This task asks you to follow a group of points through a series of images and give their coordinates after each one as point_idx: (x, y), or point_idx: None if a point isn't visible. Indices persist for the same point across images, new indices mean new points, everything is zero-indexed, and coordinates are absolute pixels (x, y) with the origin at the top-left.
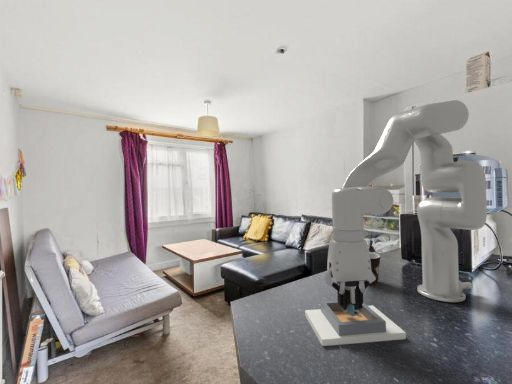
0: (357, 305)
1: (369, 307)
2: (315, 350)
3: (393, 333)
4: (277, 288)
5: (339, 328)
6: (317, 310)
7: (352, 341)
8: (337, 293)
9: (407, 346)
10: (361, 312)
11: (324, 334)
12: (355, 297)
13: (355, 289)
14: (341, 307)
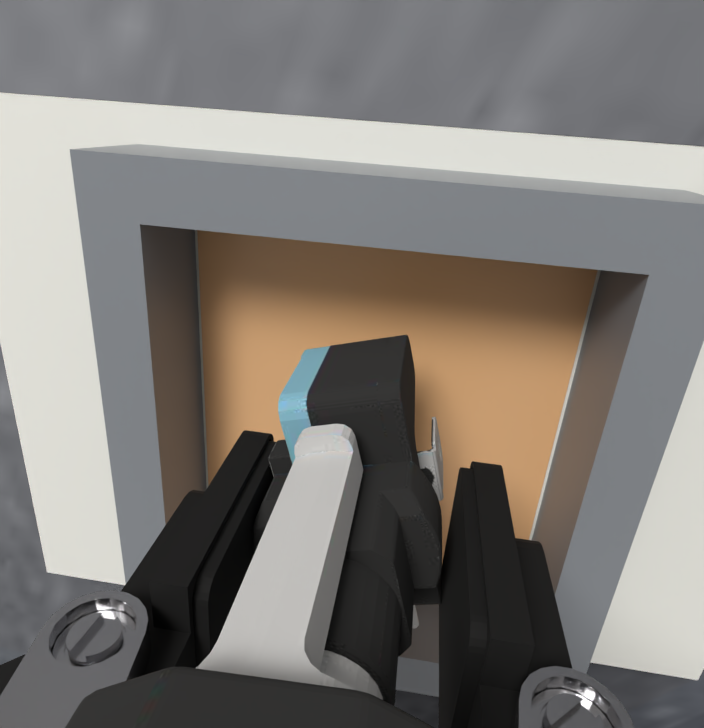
0: (416, 602)
1: (652, 485)
2: (28, 557)
3: (592, 661)
4: None
5: None
6: (97, 134)
7: None
8: (126, 584)
9: (607, 682)
10: (417, 622)
11: (75, 531)
12: (456, 579)
13: (487, 677)
14: (315, 354)
